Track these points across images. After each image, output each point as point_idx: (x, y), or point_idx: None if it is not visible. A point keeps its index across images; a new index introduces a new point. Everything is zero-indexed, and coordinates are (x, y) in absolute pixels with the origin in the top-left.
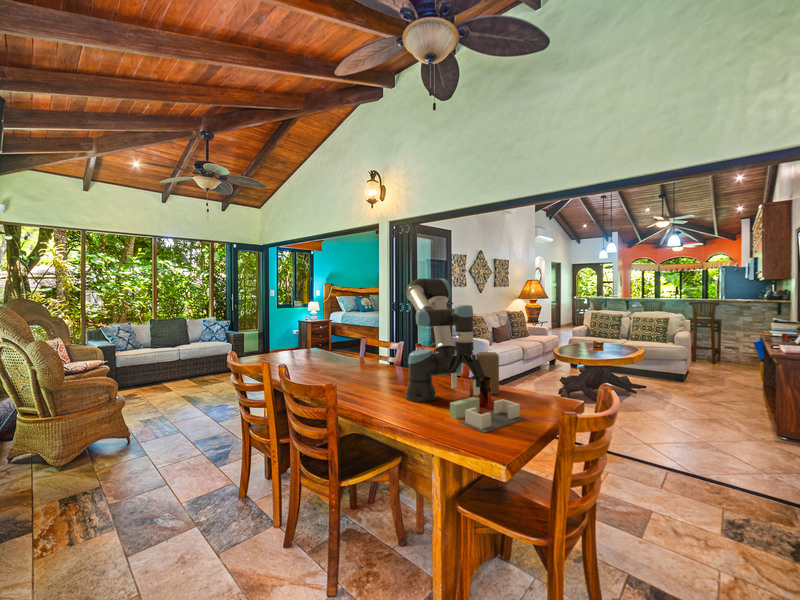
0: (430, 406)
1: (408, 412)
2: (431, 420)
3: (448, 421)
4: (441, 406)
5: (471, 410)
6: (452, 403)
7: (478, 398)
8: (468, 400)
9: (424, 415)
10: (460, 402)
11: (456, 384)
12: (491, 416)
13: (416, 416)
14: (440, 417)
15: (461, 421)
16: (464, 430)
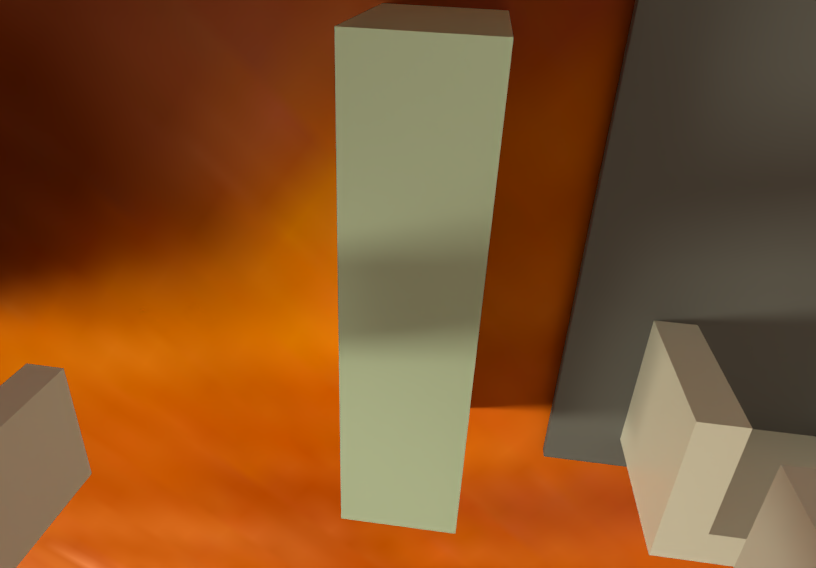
0: (7, 325)
1: (85, 541)
2: (348, 550)
3: (464, 489)
4: (54, 239)
5: (713, 501)
6: (382, 515)
7: (487, 36)
8: (438, 283)
9: (215, 513)
10: (424, 430)
11: (18, 427)
12: (795, 68)
13: (201, 559)
14: (338, 467)
15: (577, 447)
16: None
